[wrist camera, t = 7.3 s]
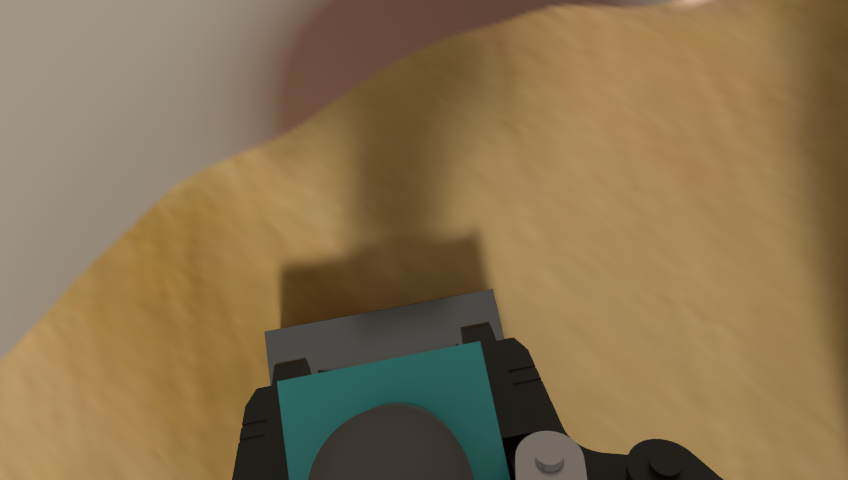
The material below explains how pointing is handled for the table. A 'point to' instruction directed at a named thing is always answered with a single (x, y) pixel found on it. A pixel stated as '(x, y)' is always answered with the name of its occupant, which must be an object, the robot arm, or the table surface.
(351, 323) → the holster
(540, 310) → the table surface
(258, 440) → the robot arm
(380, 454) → the plug
